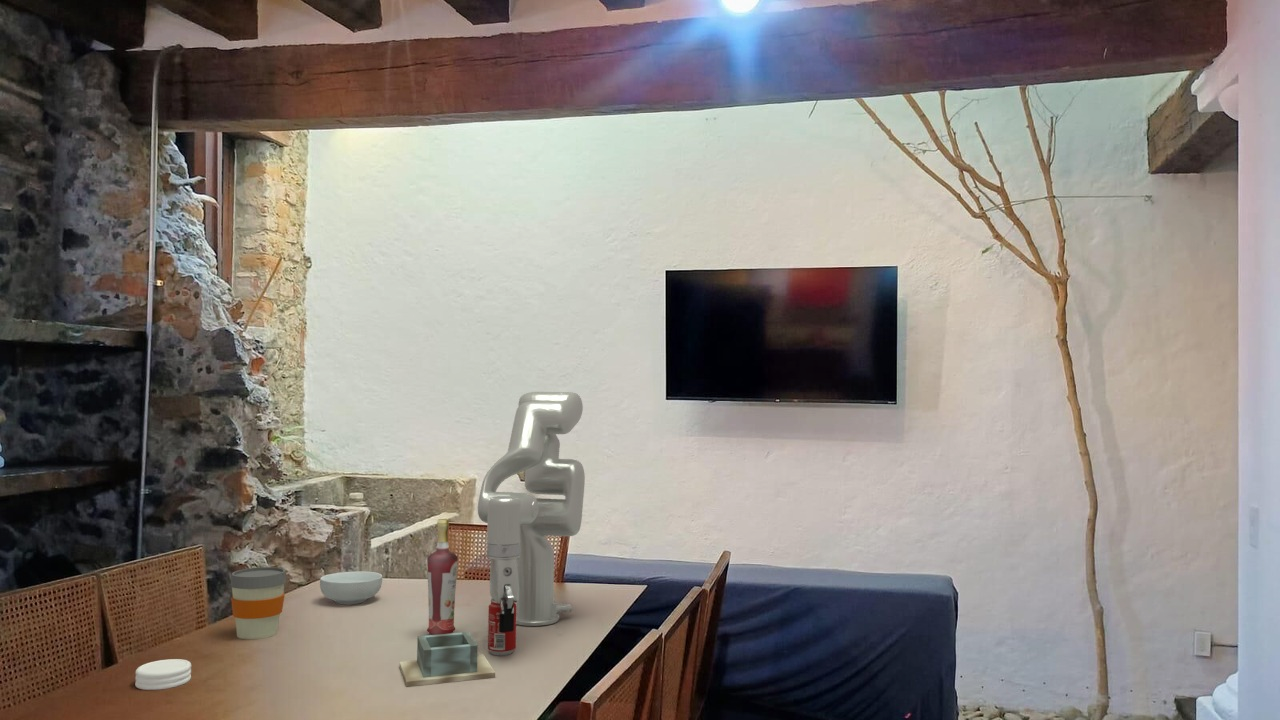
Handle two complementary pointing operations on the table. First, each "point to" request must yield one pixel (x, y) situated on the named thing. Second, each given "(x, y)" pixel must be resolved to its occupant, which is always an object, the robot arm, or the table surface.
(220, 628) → the table surface
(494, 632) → the beverage can
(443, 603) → the liquor
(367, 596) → the cereal bowl
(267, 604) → the reusable coffee cup
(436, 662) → the well board
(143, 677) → the coaster
